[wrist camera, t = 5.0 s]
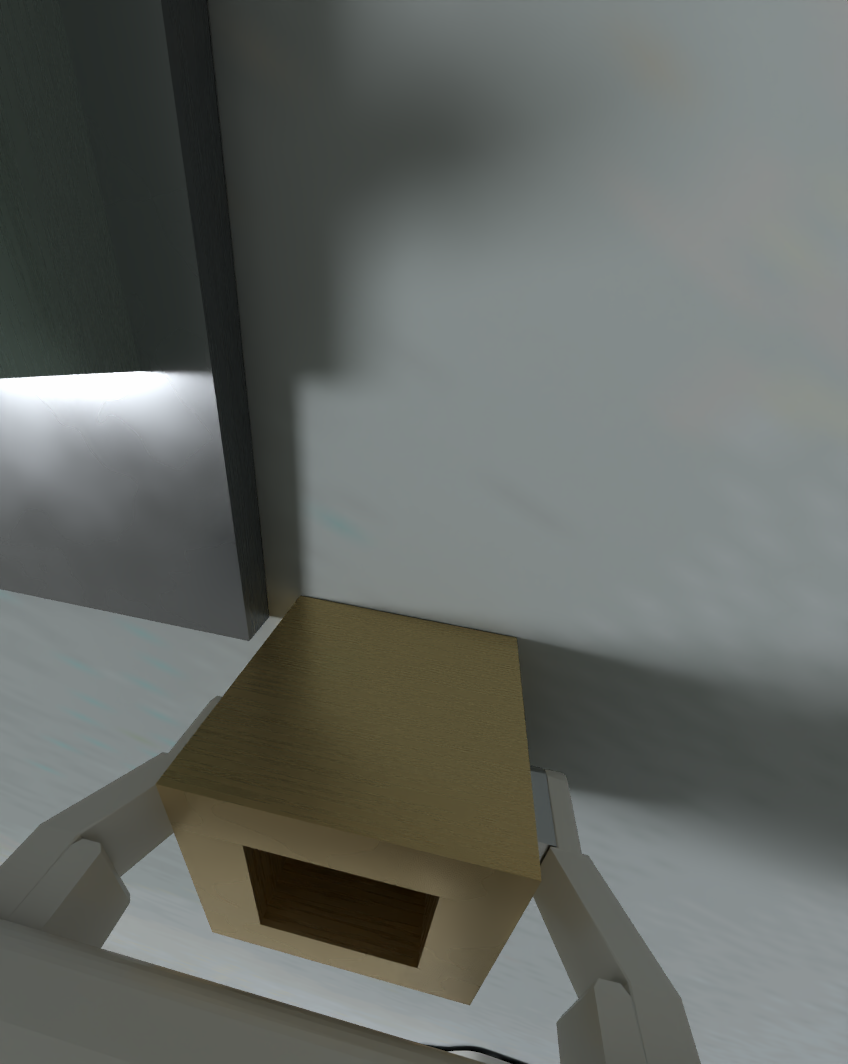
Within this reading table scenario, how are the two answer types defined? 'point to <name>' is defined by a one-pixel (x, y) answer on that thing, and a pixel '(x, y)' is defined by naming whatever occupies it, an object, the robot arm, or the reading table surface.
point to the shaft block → (121, 321)
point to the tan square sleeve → (365, 798)
